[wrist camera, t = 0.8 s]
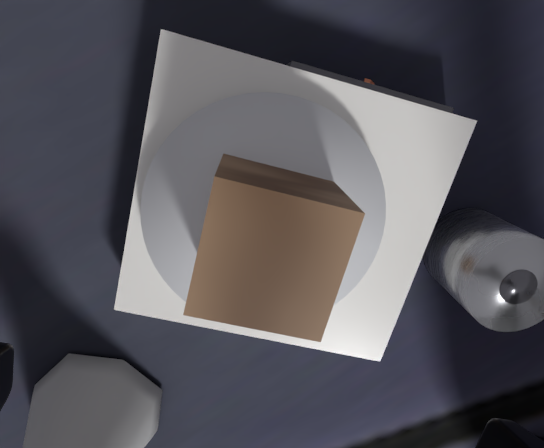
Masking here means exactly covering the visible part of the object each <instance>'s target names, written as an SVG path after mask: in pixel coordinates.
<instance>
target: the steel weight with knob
mask: <svg viewBox="0 0 544 448" xmlns="http://www.w3.org/2000/svg"><path fill="white" fill-rule="evenodd" d="M423 260H424V264H425V267H426V269H427V270H428V272H429V273H430V275H431V276H432V277H433V278H434V279H435V280H436V281H437V282H438V283H439V284H440V285H441V286H442V287H443V288H444V289H445V290H446V291H447V292H448V293H449V294H450V295H451V296H452V297H453V298H454V299H455V300H457V301H458V302H459V303H460V304H461V305H462V306H463V307H464V308H465V309H466V310H467V311H468V312H469V313H470V314H471V315H472V316H473V317H474V318H475V319H476V320H477V321H478V322H479V323H480V324H481V325H483V326H485V327H487V328H489V329H491V330H495V331H500V332H514V331H519V330H523V329H526V328H529V327H531V326H533V325H535V324H537V323H539V322H541V321H542V320H543V319H544V239H542V238H540V237H538V236H536V235H534V234H531V233H529V232H527V231H525V230H523V229H521V228H519V227H517V226H515V225H513V224H511V223H509V222H507V221H505V220H503V219H501V218H499V217H497V216H495V215H493V214H491V213H489V212H487V211H485V210H482V209H477V208H464V209H459V210H456V211H453V212H451V213H449V214H447V215H446V216H444V217H443V218H441V219H440V220H439V221H438V222H437V223H436V224H435V227H434V229H433V232H432V234H431V237H430V239H429V242H428V244H427V247H426V249H425V252H424V254H423Z"/></svg>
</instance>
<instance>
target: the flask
mask: <svg viewBox="0 0 544 448" xmlns="http://www.w3.org/2000/svg"><path fill="white" fill-rule="evenodd" d="M162 391H163V390H162V389H160V388H159V387H158V386H157V385H155V384H154V383H153V382H151V381H150V380H149V379H148V378H146V377H145V376H144V375H142V374H141V373H140V372H138V371H137V370H136V369H135V368H133V367H132V366H131V365H129V364H128V363H127V362H126V361H124V360H121V359H113V358H104V357H95V356H87V355H78V354H70V353H69V354H67V355H66V356H65V357H64V358H63V359H62V360H61V361H60V362H59V363H58V364H57V365H56V366H55V367H53V368H52V369H51V370H50V371H49V372H48V373H47V374H46V375H45V376H44V377H43V378H42V379H41V380H39V381H38V382H37V383H36V384H35V386H34V391H33V395H32V400H31V405H30V411H29V417H28V422H27V428H26V433H25V439H24V444H23V448H144V447H145V446H146V445H147V443H148V442H149V441H150V440H151V438H152V437H153V436H154V434H155V433H156V432H157V430H158V423H159V415H160V407H161V399H162Z"/></svg>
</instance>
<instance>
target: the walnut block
mask: <svg viewBox="0 0 544 448" xmlns="http://www.w3.org/2000/svg"><path fill="white" fill-rule="evenodd" d="M364 216H365V213H364V212H363V211H362V210H361V209H360V208H359V207H358V206H357V205H356V204H355V203H354V202H353V201H352V200H351V198H350V197H349V196H348V195H347V194H346V193H345V192H344V191H343V190H342V189H341V188H340V187H339V186H338V185H337V184H336V183H335V182H333V181H330V180H326V179H322V178H318V177H314V176H310V175H306V174H302V173H298V172H294V171H290V170H286V169H282V168H279V167H275V166H271V165H267V164H263V163H259V162H255V161H251V160H247V159H243V158H239V157H235V156H231V155H228V154H224V153H223V156H222V158H221V161H220V163H219V166H218V168H217V171H216V173H215V176H214V180H213V184H212V189H211V193H210V198H209V202H208V207H207V211H206V216H205V220H204V224H203V229H202V233H201V238H200V242H199V247H198V251H197V256H196V260H195V264H194V269H193V273H192V278H191V282H190V287H189V291H188V296H187V300H186V305H185V309H184V313H183V315H185V316H190V317H195V318H200V319H205V320H210V321H215V322H220V323H226V324H231V325H236V326H241V327H246V328H251V329H256V330H261V331H266V332H271V333H276V334H281V335H286V336H291V337H296V338H301V339H306V340H312V341H317V342H321V340H322V337H323V334H324V331H325V328H326V325H327V323H328V320H329V317H330V314H331V311H332V308H333V305H334V302H335V299H336V297H337V294H338V291H339V288H340V285H341V282H342V279H343V276H344V273H345V271H346V268H347V265H348V262H349V259H350V256H351V253H352V250H353V247H354V245H355V242H356V239H357V236H358V233H359V230H360V227H361V224H362V221H363V219H364Z"/></svg>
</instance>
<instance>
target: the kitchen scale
mask: <svg viewBox="0 0 544 448" xmlns="http://www.w3.org/2000/svg"><path fill="white" fill-rule="evenodd" d="M453 109H454V108H452V107H449V106H445V105H442V104H438V103H435V102H432V101H428V100H425V99H421V98H418V97H415V96H411V95H408V94H404V93H401V92H397V91H394V90H391V89H387V88H384V87H380V86H377V85H375V84H374V83H373V81H372V80H371V79H366V78H365V80H364V82H363V81H360V80H357V79H353V78H350V77H346V76H343V75H339V74H336V73H333V72H329V71H326V70H322V69H319V68H316V67H312V66H309V65H305V64H302V63H299V62H295V61H291V62H289V63H288V64H287V65H283V64H280V63H276V62H273V61H270V60H266V59H263V58H259V57H256V56H252V55H249V54H246V53H242V52H239V51H235V50H232V49H228V48H225V47H221V46H218V45H215V44H211V43H208V42H204V41H201V40H197V39H194V38H191V37H187V36H184V35H180V34H177V33H173V32H170V31H166V30H163V29H161V32H160V37H159V43H158V49H157V55H156V61H155V67H154V73H153V79H152V85H151V91H150V97H149V103H148V109H147V115H146V121H145V127H144V133H143V139H142V145H141V151H140V157H139V163H138V169H137V175H136V181H135V187H134V193H133V199H132V205H131V211H130V217H129V223H128V229H127V235H126V241H125V247H124V253H123V259H122V265H121V271H120V277H119V283H118V289H117V295H116V301H115V307H114V310H118V311H123V312H128V313H133V314H139V315H144V316H149V317H154V318H159V319H164V320H169V321H174V322H180V323H185V324H190V325H195V326H200V327H205V328H210V329H215V330H221V331H226V332H231V333H236V334H241V335H246V336H251V337H256V338H262V339H267V340H272V341H277V342H282V343H287V344H292V345H298V346H303V347H308V348H313V349H318V350H323V351H328V352H333V353H339V354H344V355H349V356H354V357H359V358H364V359H369V360H374V361H381V358H382V356H383V353H384V351H385V348H386V346H387V343H388V341H389V338H390V336H391V333H392V331H393V329H394V326H395V324H396V321H397V319H398V316H399V314H400V311H401V309H402V306H403V304H404V301H405V299H406V296H407V294H408V291H409V289H410V286H411V284H412V281H413V279H414V276H415V274H416V271H417V269H418V267H419V264H420V262H421V259H422V257H423V254H424V252H425V249H426V247H427V244H428V242H429V239H430V237H431V234H432V232H433V229H434V227H435V224H436V222H437V219H438V217H439V214H440V212H441V209H442V207H443V205H444V202H445V200H446V197H447V195H448V192H449V190H450V187H451V185H452V182H453V180H454V177H455V175H456V172H457V170H458V167H459V165H460V162H461V160H462V157H463V155H464V152H465V150H466V147H467V145H468V143H469V140H470V138H471V135H472V133H473V130H474V128H475V125H476V123H477V121H476V120H473V119H469V118H466V117H462V116H459V115H455V114H452V112H453ZM223 153H224V154H228V155H231V156H235V157H239V158H243V159H247V160H251V161H255V162H259V163H263V164H267V165H271V166H275V167H279V168H282V169H286V170H290V171H294V172H298V173H302V174H306V175H310V176H314V177H318V178H322V179H326V180H330V181H333V182H335V183H336V184H337V185H338V186H339V187H340V188H341V189H342V190H343V191H344V192H345V193H346V194H347V195H348V196H349V197H350V198H351V200H352V201H353V202H354V203H355V204H356V205H357V206H358V207H359V208H360V209H361V210H362V211H363V212H364V213H365V216H364V219H363V221H362V224H361V227H360V230H359V233H358V236H357V239H356V242H355V245H354V247H353V250H352V253H351V256H350V259H349V262H348V265H347V268H346V271H345V273H344V276H343V279H342V282H341V285H340V288H339V291H338V294H337V297H336V299H335V302H334V305H333V308H332V311H331V314H330V317H329V320H328V323H327V325H326V328H325V331H324V334H323V337H322V340H321V342H317V341H312V340H306V339H301V338H296V337H291V336H286V335H281V334H276V333H271V332H266V331H261V330H256V329H251V328H246V327H241V326H236V325H231V324H226V323H220V322H215V321H210V320H205V319H200V318H195V317H190V316H185V315H183V313H184V309H185V305H186V300H187V296H188V291H189V287H190V282H191V278H192V273H193V269H194V264H195V260H196V256H197V251H198V247H199V242H200V238H201V233H202V229H203V224H204V220H205V216H206V211H207V207H208V202H209V198H210V193H211V189H212V184H213V180H214V176H215V173H216V171H217V168H218V166H219V163H220V161H221V158H222V156H223Z"/></svg>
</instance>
